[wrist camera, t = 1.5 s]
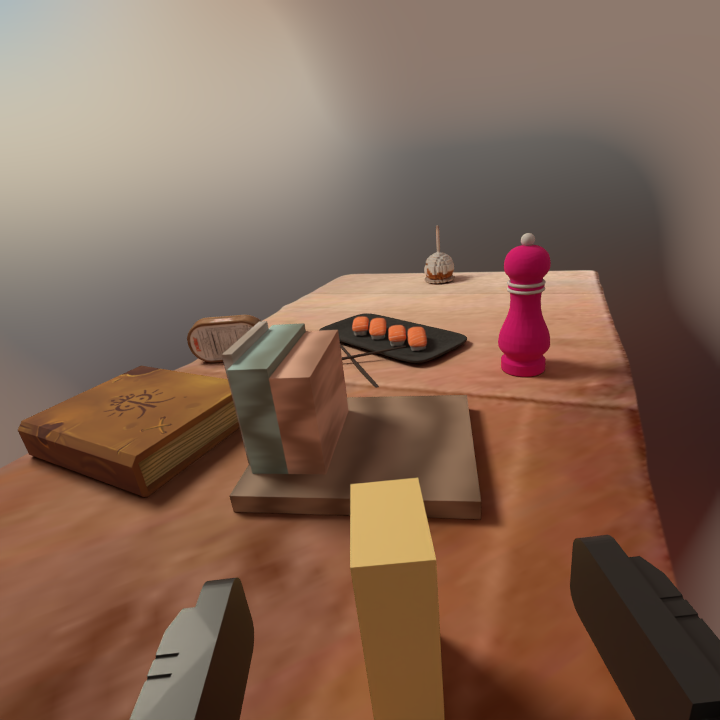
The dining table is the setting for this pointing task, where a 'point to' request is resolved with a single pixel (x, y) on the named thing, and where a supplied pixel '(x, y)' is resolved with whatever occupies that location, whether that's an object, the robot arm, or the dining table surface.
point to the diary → (135, 427)
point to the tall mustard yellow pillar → (396, 599)
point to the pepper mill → (525, 310)
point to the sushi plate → (394, 339)
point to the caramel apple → (439, 266)
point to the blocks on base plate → (339, 431)
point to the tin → (218, 335)
